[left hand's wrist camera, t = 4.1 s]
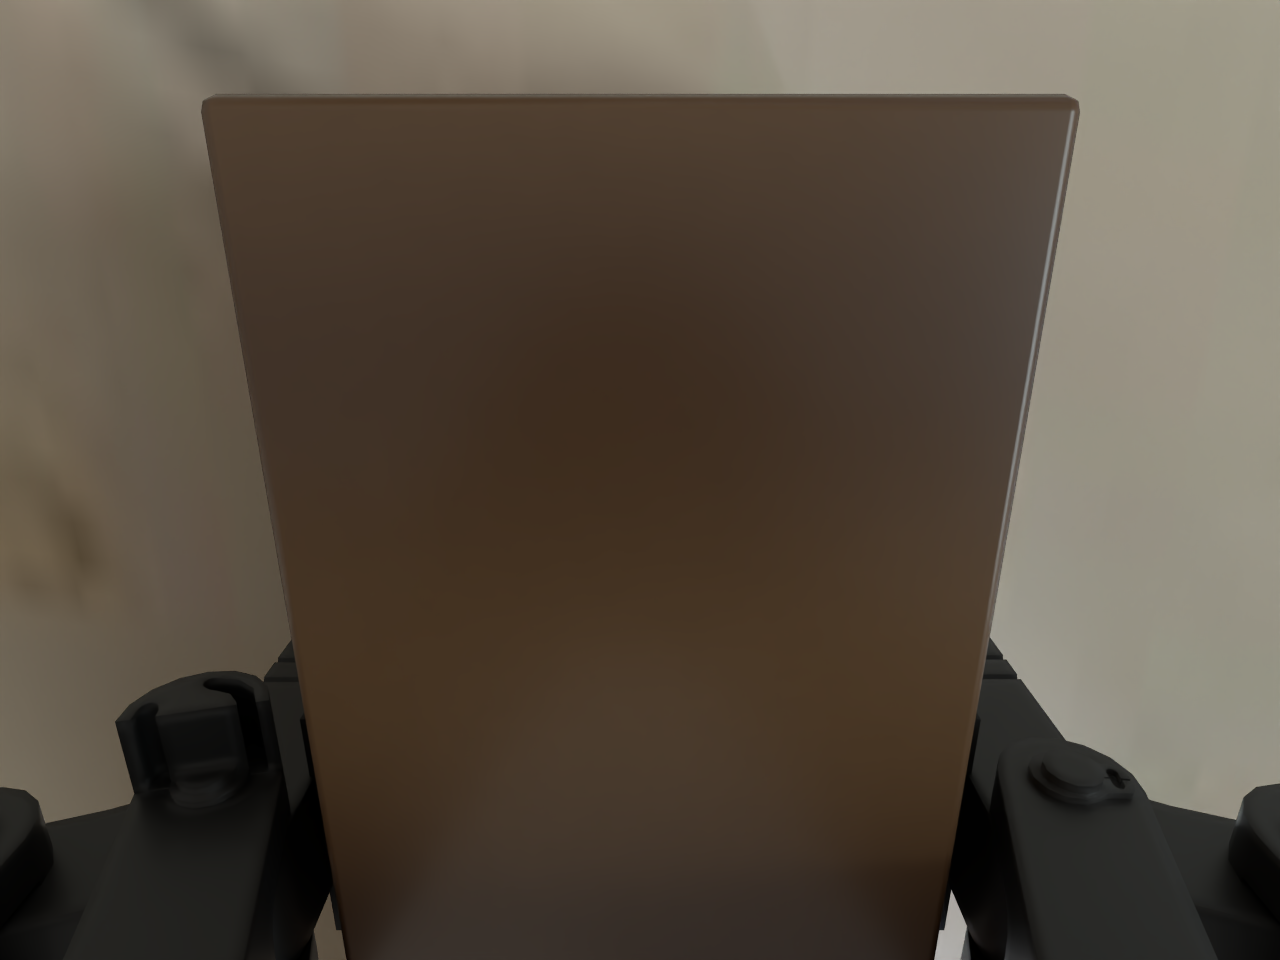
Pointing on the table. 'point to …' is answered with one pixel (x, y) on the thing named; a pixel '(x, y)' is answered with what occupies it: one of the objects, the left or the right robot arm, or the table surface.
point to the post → (640, 497)
